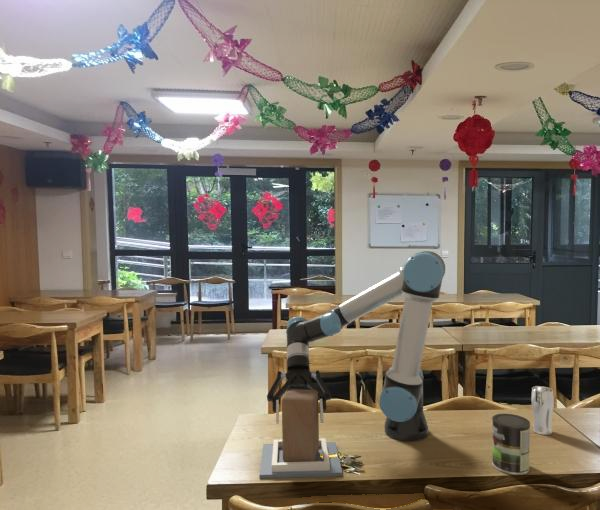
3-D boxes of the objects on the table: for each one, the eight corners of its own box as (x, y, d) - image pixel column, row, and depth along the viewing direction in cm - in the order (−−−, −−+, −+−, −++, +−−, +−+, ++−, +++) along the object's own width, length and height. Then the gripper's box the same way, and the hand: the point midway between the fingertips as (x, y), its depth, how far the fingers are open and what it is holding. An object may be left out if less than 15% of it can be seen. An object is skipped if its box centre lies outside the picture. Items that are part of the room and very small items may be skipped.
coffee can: (503, 476, 132) (503, 427, 132) (485, 459, 143) (485, 414, 142) (537, 474, 133) (537, 426, 133) (517, 457, 144) (517, 412, 143)
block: (314, 466, 138) (313, 400, 137) (282, 463, 140) (280, 398, 139) (319, 450, 148) (318, 389, 147) (288, 448, 150) (287, 387, 149)
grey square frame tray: (335, 444, 154) (335, 436, 154) (342, 476, 134) (342, 465, 134) (263, 446, 153) (263, 437, 153) (259, 478, 133) (259, 468, 133)
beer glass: (532, 433, 160) (532, 391, 159) (530, 426, 166) (530, 385, 166) (554, 436, 157) (555, 393, 157) (552, 428, 164) (552, 387, 163)
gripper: (334, 364, 158) (339, 425, 144) (261, 366, 158) (259, 427, 143) (335, 352, 153) (341, 415, 138) (260, 354, 152) (258, 417, 138)
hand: (299, 421), depth 141 cm, fingers open, 13 cm apart
